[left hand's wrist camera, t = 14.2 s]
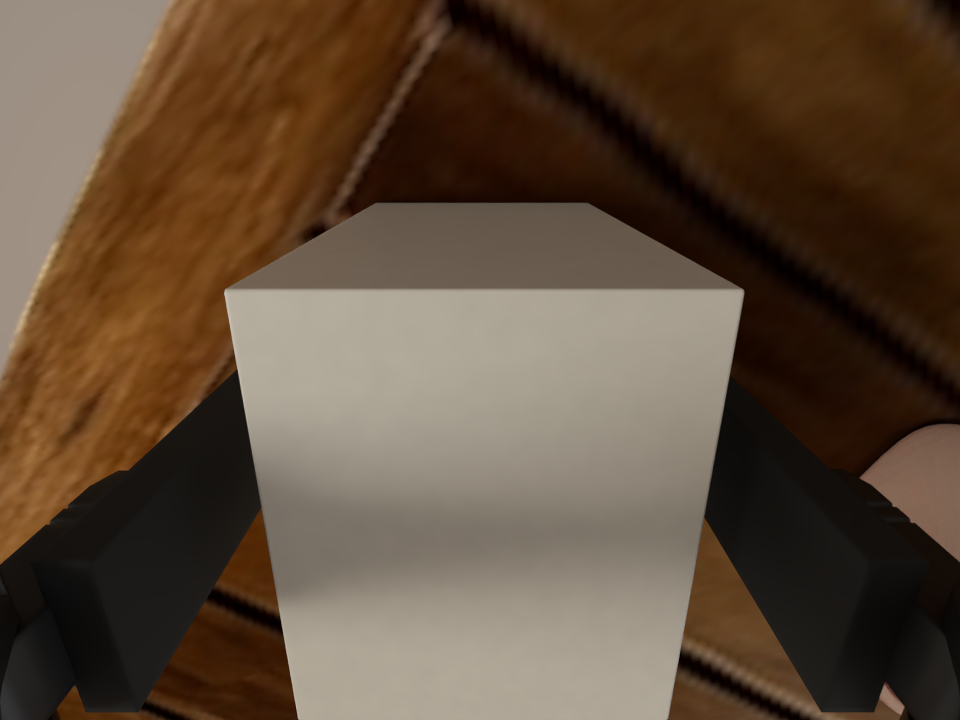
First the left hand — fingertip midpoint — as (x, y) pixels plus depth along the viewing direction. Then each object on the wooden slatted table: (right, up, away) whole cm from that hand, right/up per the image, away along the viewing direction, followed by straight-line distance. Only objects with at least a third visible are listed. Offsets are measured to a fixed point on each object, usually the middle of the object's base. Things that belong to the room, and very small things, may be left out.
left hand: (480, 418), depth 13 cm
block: (0, +3, +7) cm, 7 cm away
